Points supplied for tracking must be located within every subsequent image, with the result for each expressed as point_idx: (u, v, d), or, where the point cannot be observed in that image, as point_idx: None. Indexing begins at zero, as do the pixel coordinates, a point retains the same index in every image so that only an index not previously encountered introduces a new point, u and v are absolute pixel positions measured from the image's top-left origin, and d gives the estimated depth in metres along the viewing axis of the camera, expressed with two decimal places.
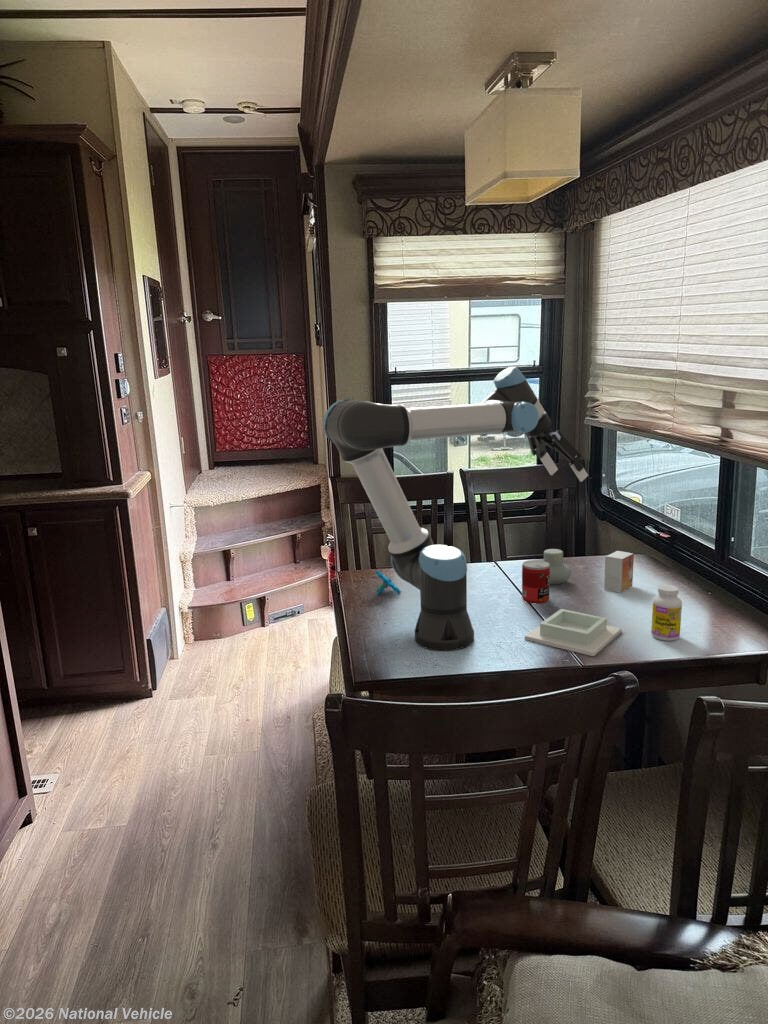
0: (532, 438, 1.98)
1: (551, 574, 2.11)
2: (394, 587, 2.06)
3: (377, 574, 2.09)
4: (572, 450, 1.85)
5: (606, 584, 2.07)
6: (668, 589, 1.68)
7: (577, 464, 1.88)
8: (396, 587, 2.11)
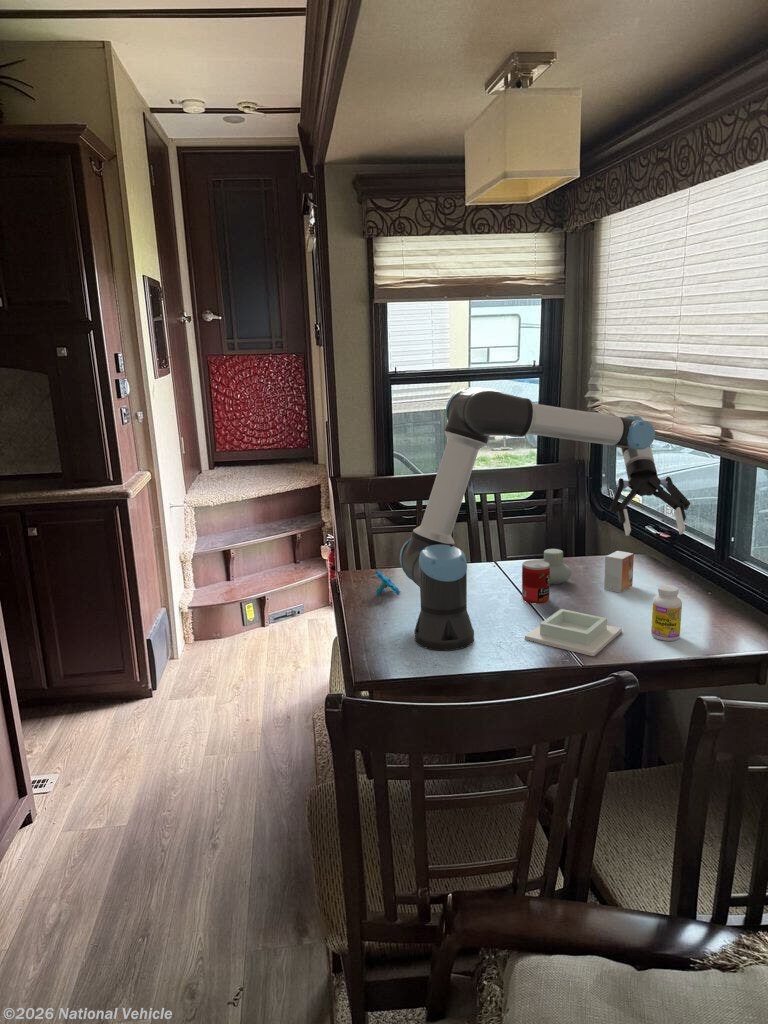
0: (622, 488, 1.85)
1: (551, 574, 2.11)
2: (393, 587, 2.06)
3: (376, 573, 2.09)
4: None
5: (606, 584, 2.07)
6: (668, 589, 1.68)
7: None
8: (395, 587, 2.11)
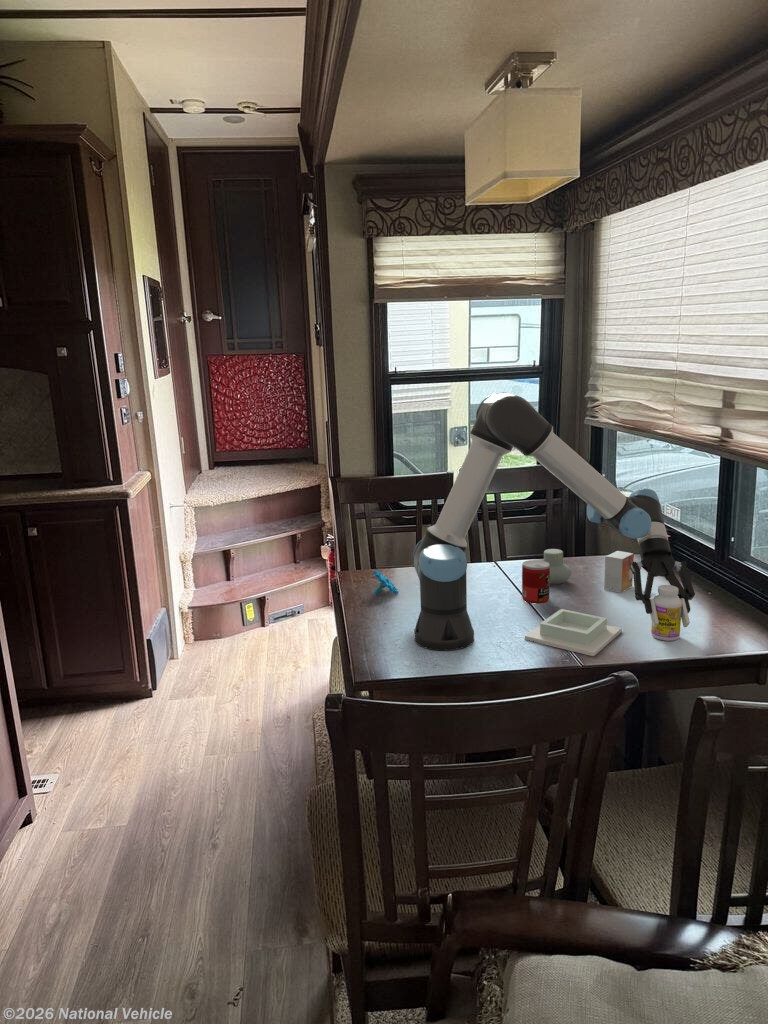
0: None
1: (551, 574, 2.11)
2: (390, 587, 2.06)
3: (375, 574, 2.10)
4: None
5: (606, 584, 2.07)
6: (668, 589, 1.68)
7: None
8: (394, 587, 2.11)
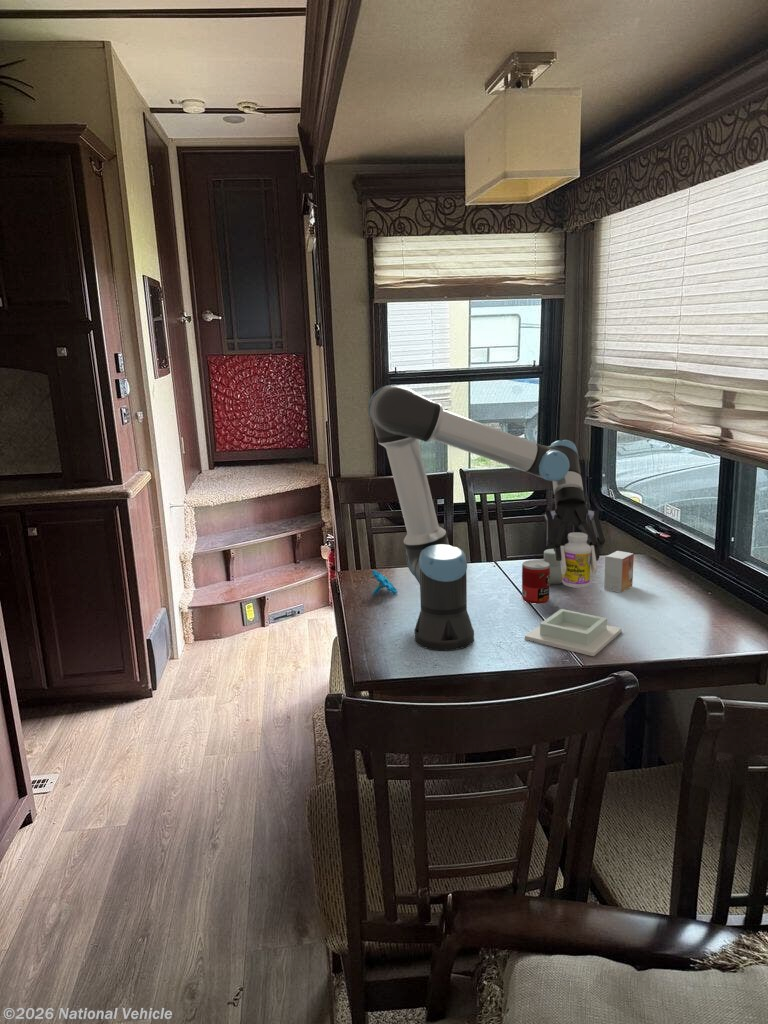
0: None
1: (551, 574, 2.11)
2: (388, 587, 2.06)
3: (373, 574, 2.10)
4: None
5: (606, 584, 2.07)
6: (577, 535, 1.68)
7: None
8: (392, 587, 2.11)
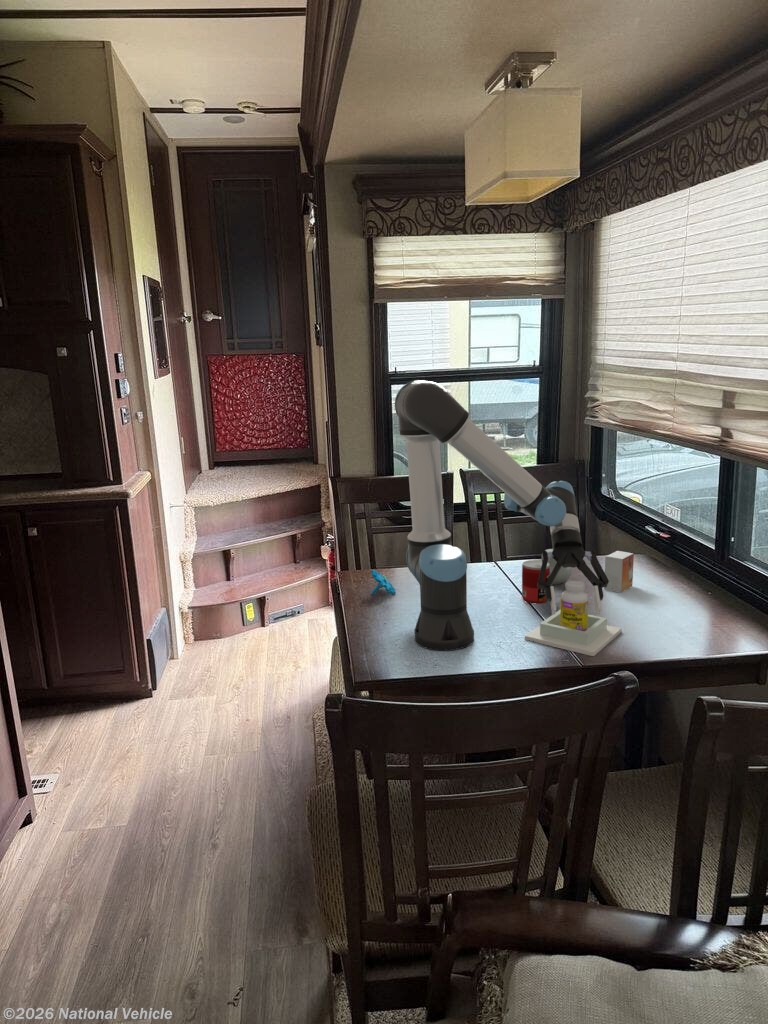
0: None
1: None
2: (386, 587, 2.06)
3: None
4: None
5: None
6: (574, 584, 1.71)
7: None
8: (391, 587, 2.11)
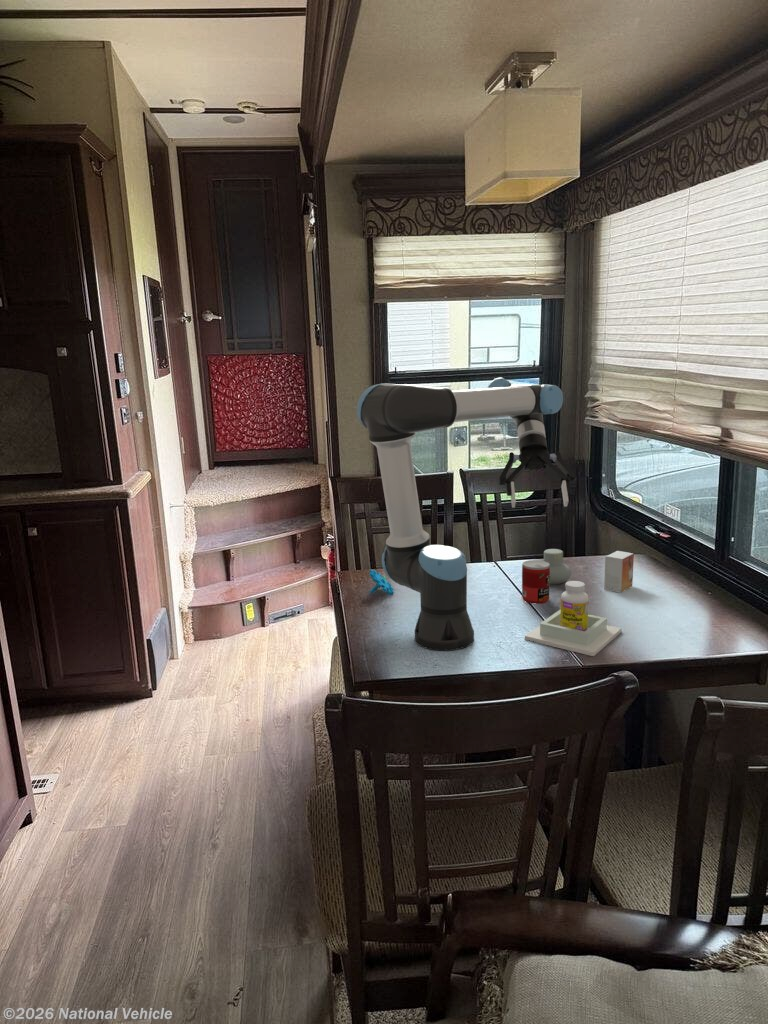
0: (512, 462, 1.88)
1: (551, 574, 2.11)
2: (383, 587, 2.06)
3: None
4: None
5: (606, 584, 2.07)
6: (574, 585, 1.71)
7: None
8: (389, 588, 2.11)
